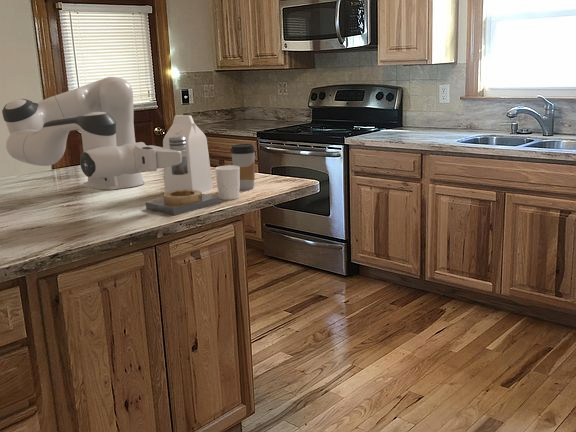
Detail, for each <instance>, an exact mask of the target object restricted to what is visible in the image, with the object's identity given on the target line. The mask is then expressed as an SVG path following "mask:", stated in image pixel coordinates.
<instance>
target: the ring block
mask: <svg viewBox="0 0 576 432" xmlns="http://www.w3.org/2000/svg"><path fill="white" fill-rule="evenodd" d="M218 204H221V199H220V197H219V196H215V195H210V194H205V193H202V192H201V191H199V190H193V189H184V190H175V191H170V192H167V193H165V192H164V193H163V197H162V198H159V199H155V200H150V201H146V202H145V208H146V210H149V211H154V212H158V213H162V212H163V213H164V214H167V215H171V216H176V215H180V214H184V213H185V214H186V213H188V212H191V211H195V210H199V209H203V208H207V207H210V206H215V205H218ZM163 213H162V214H163Z"/></svg>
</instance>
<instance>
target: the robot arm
mask: <svg viewBox="0 0 576 432" xmlns="http://www.w3.org/2000/svg"><path fill="white" fill-rule="evenodd" d="M1 110H2V111H1V113H2V117H3V121H4V122H5V124H6V127H7V129H8V133H9V134H10V135H9V136H8V138H7V139H6V141H5V145H6V150H7V153H8V154H9V156H10V157H11V158H13V159H15V160H17V161H19V162H21V163H25V164H28V165H33V166H41V167H46V166H48V167H49V166H53V165H55V164H57V163H58V162H60V160H61V159H62V158H63V157H64V154H65V152H66V147H67V140H68V137H69V136H68V135H69V133H70V132H71V131H79V132H80V134H81V142H82V153H81V155H80V159H79V164H80V169H81V171H82V173H83V174H84V175H85V176H86V177H87V181H85V182H83V183H82V184H81V188H86V189H97V190H98V189H99V190H106V191H107V190H109V191H113V190H119V189H126V188H127V189H129V188H132V187H133V188H134V187H137V186H141V185H143V184H145V182H144V179H143V175H142V173H151V172H157V171H158V169H164V168H165V167H169V166H174V165H178V164H180V163H181V162H182V157H185V156H187V151H186V150H179V151H177V150H172V149H170V148H163V146H157V145H153V144H152V145H146V143H145V142H143V141H139V142H136V136H135V134H136V133H135V126H134V123H135V122H134V119H135V116H134V113H135V111H134V91H133V88H132V86H131V84H130V83H129V81H127V80H126V79H124V78H122V77H116V76H108V77H104V78H101V79H98V80H96V81H94V82H90V83H88V84H85V85H81V86H79V87H77V88H74V89H71V90H68V91H64V92H61V93H59V94H56V95H52V96H50V97H48V98H45V99H43V100H40V101H39V102H33V101H32V100H30V99H26V98H20V99H19V98H18V99H14V100H12V101H10V102H8V103H6V104H5V106H3V109H1Z"/></svg>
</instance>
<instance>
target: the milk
mask: <svg viewBox="0 0 576 432" xmlns="http://www.w3.org/2000/svg"><path fill="white" fill-rule="evenodd" d="M170 137H186V149H187V162H188V174H184V175H173V174H172V169H171V166H169V167H165V168H163V181H164V194H165V193H167V192H170V191H175V190H184V189H193V190H199V191H201V192H202V194H205V193H206V192H209V191H212V190H214V187H213V186H214V185H213V179H212V177H213V176H212V169H211V163H210V155H209V147H208V139H207V136H206V135H205V133H204V132H203V130H201V129H200V127H199V126H197V124H196V123H195V121H194V119H193V117H192V115H185V114H184V115H180V114H179V115H178V114H177V115H174V117H173V121H172V125H171V126H170V128H169V129H168V131H166V134H165V135H164V137H163V140H162V147H163V148H170V145H169V138H170Z"/></svg>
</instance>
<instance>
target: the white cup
mask: <svg viewBox="0 0 576 432" xmlns="http://www.w3.org/2000/svg"><path fill="white" fill-rule="evenodd" d="M214 170H215V178H216V186H217V193H218V197H220V200H223V201H224V200H225V201H227V200H228V201H230V200H236V199H239V198H240V191H241V190H239V189H240V167H239V166H235V165H233V164H232V165H231V164H229V165H228V164H227V165H220V166H217V167H215V169H214Z"/></svg>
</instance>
